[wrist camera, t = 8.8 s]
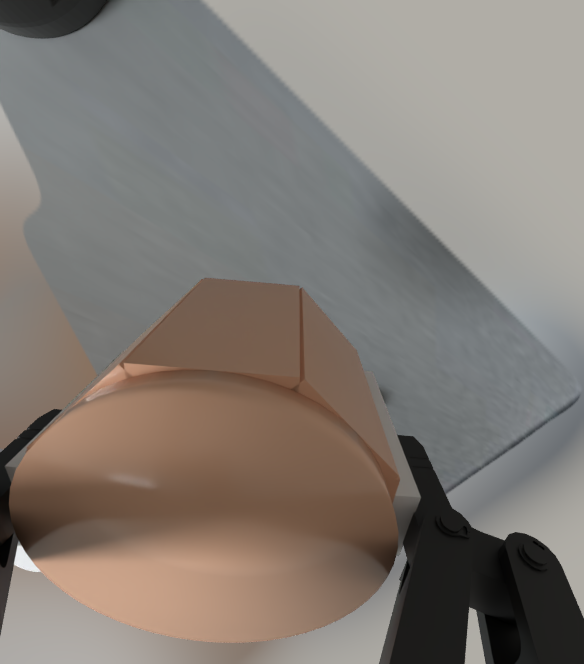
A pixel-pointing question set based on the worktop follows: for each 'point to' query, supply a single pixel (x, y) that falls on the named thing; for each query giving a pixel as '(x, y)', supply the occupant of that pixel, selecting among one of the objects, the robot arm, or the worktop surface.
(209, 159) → the worktop surface
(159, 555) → the peach acorn nut
